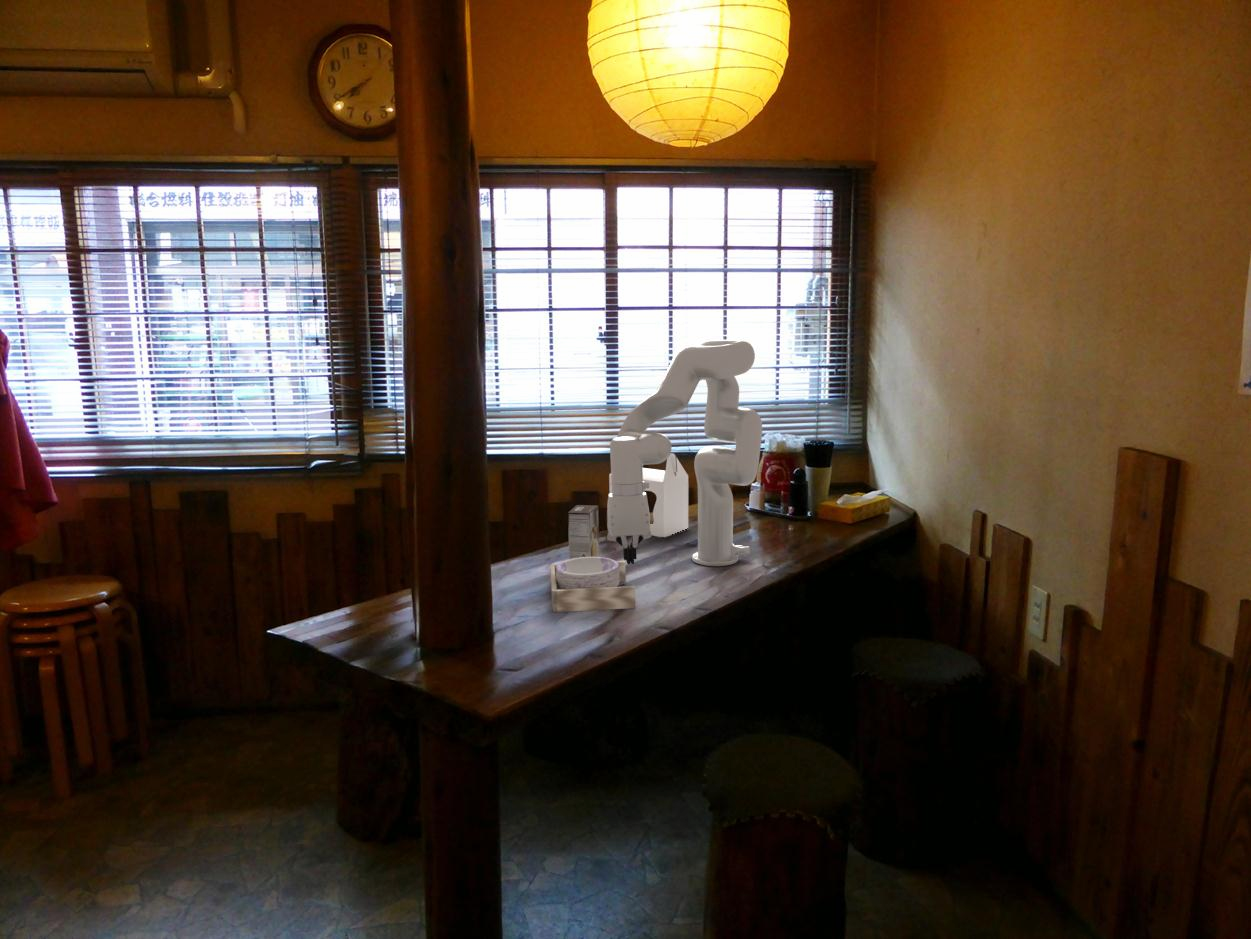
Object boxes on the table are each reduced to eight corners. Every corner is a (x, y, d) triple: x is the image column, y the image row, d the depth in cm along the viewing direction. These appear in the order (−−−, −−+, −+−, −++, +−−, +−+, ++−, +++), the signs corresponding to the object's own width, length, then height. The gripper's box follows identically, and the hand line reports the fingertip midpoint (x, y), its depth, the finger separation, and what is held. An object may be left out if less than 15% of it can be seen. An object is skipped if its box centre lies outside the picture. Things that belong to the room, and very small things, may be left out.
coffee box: (577, 560, 224) (576, 504, 221) (600, 561, 222) (599, 505, 220) (568, 570, 215) (567, 512, 212) (592, 571, 214) (590, 512, 211)
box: (625, 579, 207) (625, 561, 206) (635, 608, 186) (635, 587, 185) (550, 583, 204) (550, 564, 204) (552, 612, 184) (552, 591, 183)
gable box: (609, 527, 260) (607, 441, 255) (634, 519, 270) (633, 436, 265) (664, 538, 246) (664, 447, 241) (689, 529, 256) (689, 442, 251)
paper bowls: (547, 592, 198) (546, 561, 196) (602, 582, 205) (602, 552, 203) (572, 611, 185) (571, 577, 183) (630, 600, 191) (630, 568, 190)
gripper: (656, 483, 196) (658, 555, 200) (594, 487, 195) (598, 559, 198) (661, 490, 189) (663, 565, 193) (597, 494, 187) (600, 569, 191)
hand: (630, 562), depth 195 cm, fingers closed
